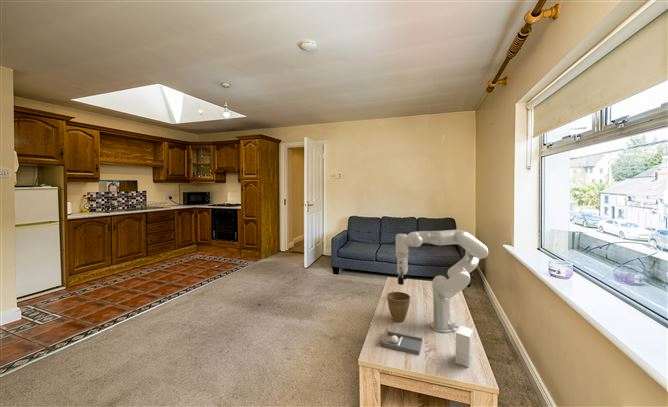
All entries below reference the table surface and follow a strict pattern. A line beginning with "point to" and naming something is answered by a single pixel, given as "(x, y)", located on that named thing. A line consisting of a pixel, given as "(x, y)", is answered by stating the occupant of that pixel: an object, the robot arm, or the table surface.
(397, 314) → the plant pot
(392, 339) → the ball
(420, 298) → the table surface
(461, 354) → the skincare box
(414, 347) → the tray
